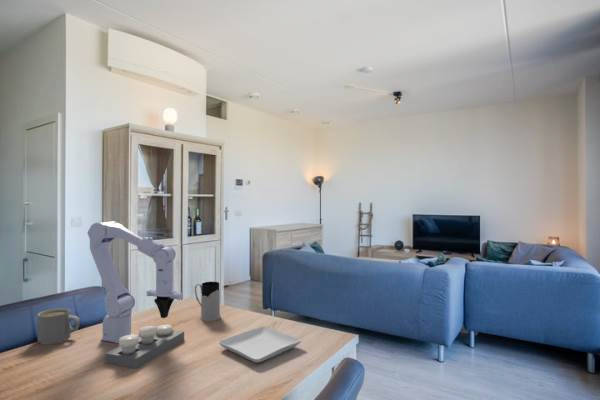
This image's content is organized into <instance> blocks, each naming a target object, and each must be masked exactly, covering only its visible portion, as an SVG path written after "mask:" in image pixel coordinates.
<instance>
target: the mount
mask: <svg viewBox="0 0 600 400" xmlns="http://www.w3.org/2000/svg"><path fill="white" fill-rule="evenodd" d="M184 340H185V331H184V330H183V331H182V330H178V329H177V330H175V329H173V332H172V333H171V334H169V335H167V336H159V335H157V334H156V335H155V336H154V343H152V344H150V345H143V344H141V337H139V336H138V344H137V345H136V352H135V353H133V354H132V355H130V356H127V355H122V347H120V346H119V345H118V346H117V347H115V348H113V349H112V350H110V351H108V352H105V353H104V354H105V360H104V361H105V363H106V364H110V365H116V366H121V367H124V368H125V367H126V368H131V369H137V368H139V367H141V366H142V365H144V364H146V363H147V362H149V361H151V360H153V359H155V358H156V357H158V356H159V355H161V354H163V353H164V352H166V351H168V350H169V349H171V348H173V347H174V346H176V345H177V344H179V343H181V342H182V341H183V342H184Z"/></svg>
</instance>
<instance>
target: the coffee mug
mask: <svg viewBox="0 0 600 400" xmlns="http://www.w3.org/2000/svg"><path fill="white" fill-rule="evenodd" d="M72 320H73V321H74V323H75V325H74V327H72V325H71V322H72ZM80 324H81V321H80V318H79V317H78V315H77V316H76V315H71V309H69V308H65V307H62V308H61V307H59V308H58V307H57V308H52V309H47V310H43V311H40V312H38V314H37V343H38V344H39V343H41V344H40V345H43V344H46V345H54V343H55V344H59V343H62V342H64V341H67V340H69V339H70V338H71V334H72V333H75V332H76V331H78V329H79V328H80ZM68 338H69V339H68Z"/></svg>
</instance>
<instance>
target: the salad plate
mask: <svg viewBox="0 0 600 400" xmlns="http://www.w3.org/2000/svg"><path fill="white" fill-rule="evenodd" d="M301 342H302V339H301V338H297V337H295V336H292V335H289V334H287V333H284V332H281V331H279V330H275V329H272V328H270V327H266V326H259V327H257V328H253V329H249V330H246V331H244V332H241V333H239V334H235V335H232V336H229V337H227V338H224V339H222V340H221V339H220V340H219V341H218V344H219V345H220V346H221V347H223V348H224V349H226V350H228V351H229V352H233V353H235V354H237V355H239V356H241V357H243V358H246V359H247V360H249V361H251V362H253V363H261V362H264V361H267V360H269V359H271V358H274V357H276V356H278V355H280V354H283V353H284V351H285V352H286V351H288V350H291V349H293V348H295V347H297V346H299V345H300V343H301ZM282 352H283V353H282Z"/></svg>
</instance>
